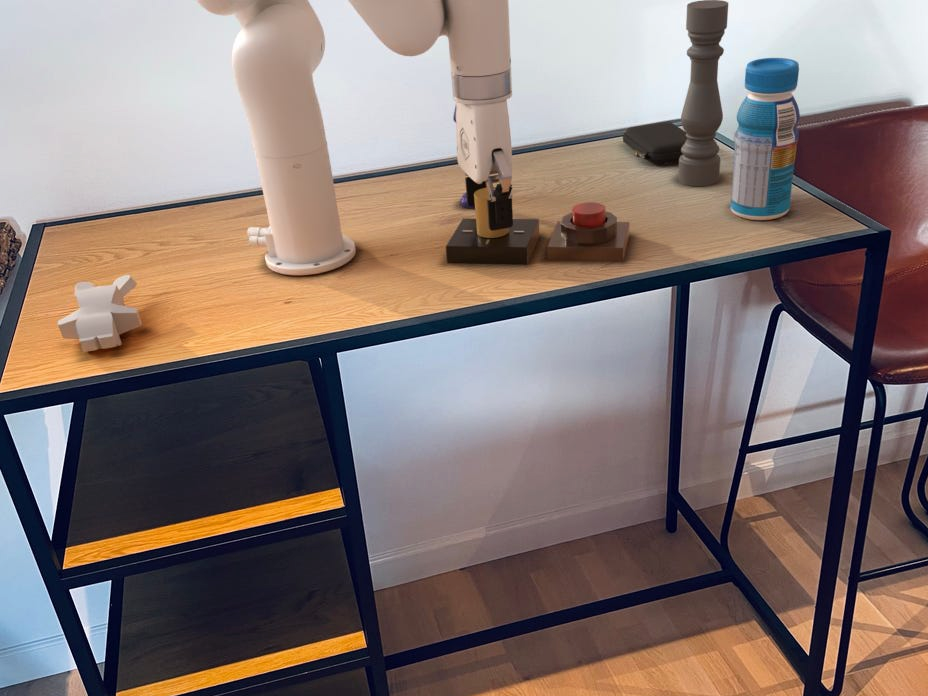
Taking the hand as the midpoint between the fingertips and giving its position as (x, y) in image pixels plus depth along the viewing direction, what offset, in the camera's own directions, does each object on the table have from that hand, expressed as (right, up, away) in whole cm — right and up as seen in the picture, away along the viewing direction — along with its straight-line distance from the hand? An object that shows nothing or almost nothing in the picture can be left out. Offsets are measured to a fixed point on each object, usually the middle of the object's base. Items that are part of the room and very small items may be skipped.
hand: (489, 215), depth 134 cm
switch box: (+14, -4, +1) cm, 14 cm away
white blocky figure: (-48, -17, -9) cm, 52 cm away
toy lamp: (-2, +6, +18) cm, 19 cm away
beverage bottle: (+38, +2, +7) cm, 39 cm away
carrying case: (+28, +18, +31) cm, 46 cm away
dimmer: (+1, -4, +3) cm, 5 cm away
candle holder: (+32, +10, +19) cm, 39 cm away
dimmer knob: (+1, -2, +1) cm, 2 cm away
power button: (+13, -1, -1) cm, 13 cm away
